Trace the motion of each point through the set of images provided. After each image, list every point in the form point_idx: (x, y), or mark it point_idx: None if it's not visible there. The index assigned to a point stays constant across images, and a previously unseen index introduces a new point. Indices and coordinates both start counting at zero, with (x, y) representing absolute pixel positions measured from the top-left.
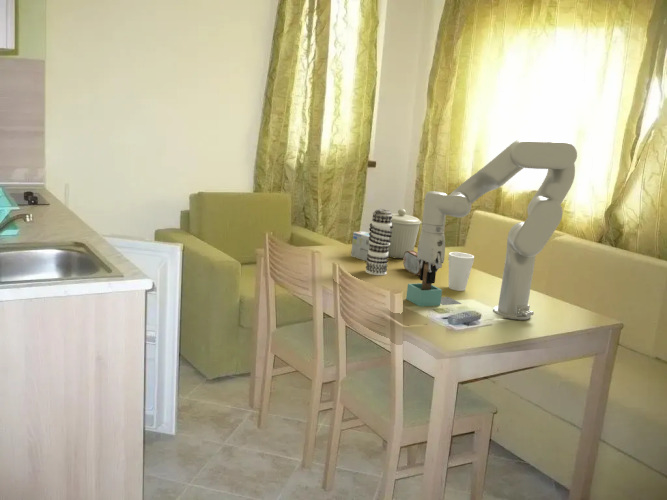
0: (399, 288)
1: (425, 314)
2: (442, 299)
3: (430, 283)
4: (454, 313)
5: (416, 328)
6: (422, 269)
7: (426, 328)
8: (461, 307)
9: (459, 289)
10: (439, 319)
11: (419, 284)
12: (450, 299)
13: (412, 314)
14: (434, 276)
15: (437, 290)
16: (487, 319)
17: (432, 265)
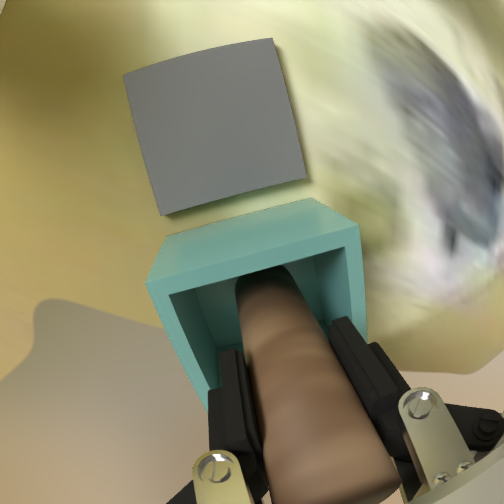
0: (13, 317)
1: (406, 310)
2: (187, 134)
3: (327, 339)
4: (409, 161)
5: (479, 354)
6: (265, 476)
7: (488, 330)
8: (311, 61)
9: (1, 2)
10: (457, 269)
11: (195, 357)
12: (182, 76)
13: (395, 356)
14: (395, 369)
15: (361, 267)
16: (461, 53)
17: (399, 480)
